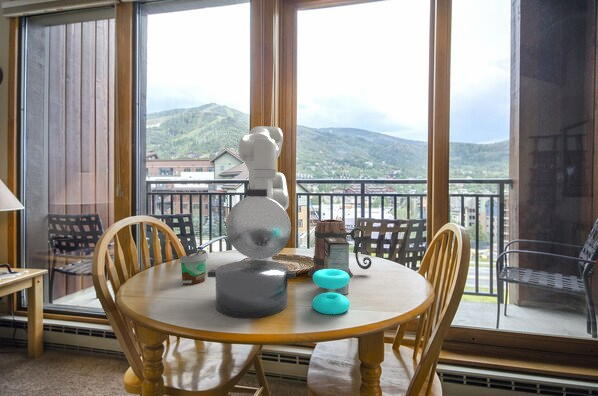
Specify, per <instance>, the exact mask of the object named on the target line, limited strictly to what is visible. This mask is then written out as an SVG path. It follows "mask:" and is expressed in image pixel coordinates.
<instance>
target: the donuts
mask: <svg viewBox="0 0 598 396" xmlns="http://www.w3.org/2000/svg"><path fill="white" fill-rule="evenodd" d="M350 279H351V278H350V277H349V275H348V274H347V273H346V272H344V271H342V270H337V269H322V270H318V271H316V272H315V273H314V274H313V278H312V282H313V283H314V284H315V285H316V286H317V287H319V288H322V289H326V288H327V289H338V288H342V287H344V286H346V285H347V284H348V285H349V283H350ZM327 289H326V290H327ZM312 306H313V309H314V310H315V311H317V312H318V313H321V314H324V315H332V314H333V315H340V314H344V313H345V312H347V311H348V310H349V308H350V301H349V299H348V298H347V296H345V295H344V294H338V293H332V292H328V291H327V292H322V293H318V294H317V295H316V296H314V298H313V300H312Z"/></svg>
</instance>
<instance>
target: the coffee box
mask: <svg viewBox="0 0 598 396" xmlns="http://www.w3.org/2000/svg"><path fill="white" fill-rule="evenodd" d="M349 261H350V242H349V241H347V239H346V240H345V239H343V238H324V269H337V270H342V271H344V272H346V273H347V274H348V275H349V269H350V267H349V266H350V263H349ZM325 289H326V292H327V293H328V292H332V293H338V294H341V295H349V283H348V284H347V285H346V286H344V287H342V288H338V289H327V288H325Z"/></svg>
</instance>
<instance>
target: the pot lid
mask: <svg viewBox="0 0 598 396" xmlns="http://www.w3.org/2000/svg"><path fill="white" fill-rule="evenodd" d="M246 196H250V197H247V198H246V197H245V198H242V199H240V200H239V201H237V203H235V204H234V205H233V206H232V207H231V208H230V211H229V212H228V214H227V217H226V220H225V230H226V235H227V239H228V241H229V242H230V245H232V247H233V248H234V249H235V250H236V251H237V252H238V253H240V254H242V255H243V256H245V257H247V258H249V257H250V258H254V259H265V258H270V257H272V258H273V257H274V256H276V255H278V254H279V253H281V252H282V250H284V249H285V247H286V246H287V244H288V242H289V239H290V237H291V232H292V226H291V225H292V224H291V219H290V217H289V214H288V212H287V210H285V209H284V208H283V207H282V206H281V205H280V204H279V203H278V202H276V201H275V200H273V199H271V198H268V197H265V196H267V189H250V188H247V189H246Z"/></svg>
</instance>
